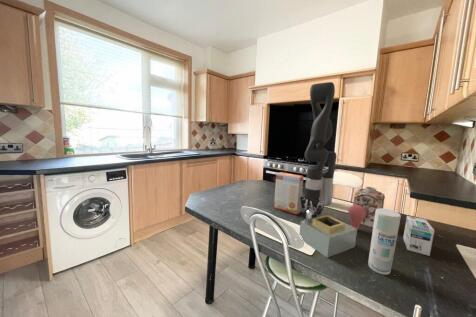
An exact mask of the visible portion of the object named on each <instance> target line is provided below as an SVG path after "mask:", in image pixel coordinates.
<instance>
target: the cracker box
mask: <svg viewBox="0 0 476 317" xmlns="http://www.w3.org/2000/svg"><path fill="white" fill-rule="evenodd" d="M303 185H304V175H299V174H293V173H287V172H282V171H281V172H277V173H276V174H275V190H274V202H273V209H276V210H280V211H283V212H287V213H290V214H293V215H295V216H296V215H299V214H300V213H301V210H302V206H301V199H300V197H302V196H303V188H304V186H303Z"/></svg>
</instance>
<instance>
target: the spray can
mask: <svg viewBox="0 0 476 317" xmlns="http://www.w3.org/2000/svg"><path fill="white" fill-rule="evenodd" d="M401 217H402V216H401V213H399V212H397V211H394V210H391V209H388V208H383V209H382V208H379V209H376V212H375V219H374V226H373V228H372V234H371V239H370V241H371V242H370V248H369V254H368V262H367V263H368V264H367V265H368V267H369V268H370V269H371V270H372V271H373V272H376V273H377V274H381V275H385V276H386V275H390V273H391V271H392V267H393V266H392V265H393V260H394V255H395V250H396V245H397V239H398V233H399V228H400V222H401Z"/></svg>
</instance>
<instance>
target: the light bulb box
mask: <svg viewBox="0 0 476 317" xmlns="http://www.w3.org/2000/svg"><path fill="white" fill-rule="evenodd" d="M434 236H435V229H434V227H433V226H432V225H431V223H430V222H429V221H428V220H427V219H424V218H419V217H415V216H410V215H406V218H405V226H404V233H403V236H402V238H403V242H404V244H405V247H406V249H407V251H411V252H412V253H413V252H415V253H418V254H421V255H424V256H429V257H430V256H431V255H430V254H431V251H432V244H433V240H434Z"/></svg>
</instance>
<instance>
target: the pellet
mask: <svg viewBox="0 0 476 317" xmlns="http://www.w3.org/2000/svg"><path fill="white" fill-rule="evenodd" d="M314 211H315V210H314ZM310 218H312V210H311V208H309V209H307V211H306V218H305V220H306V219H310Z"/></svg>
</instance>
